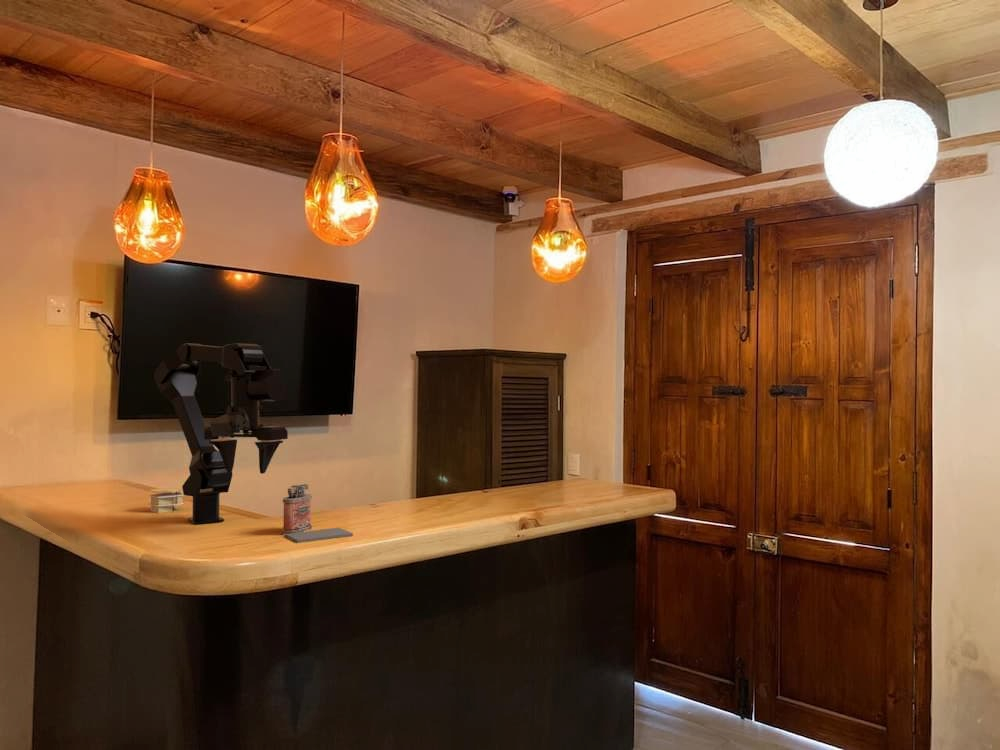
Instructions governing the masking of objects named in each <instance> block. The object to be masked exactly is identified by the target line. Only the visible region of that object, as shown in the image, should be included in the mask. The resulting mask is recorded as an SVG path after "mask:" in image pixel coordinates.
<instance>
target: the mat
mask: <svg viewBox="0 0 1000 750" xmlns="http://www.w3.org/2000/svg"><path fill="white" fill-rule="evenodd" d="M285 536H286V537H285ZM351 536H352V537H353V536H354V533H353V532H351V531H349V530H346V529H344V528H341V527H332V528H325V529H317V530H316V529H315V530H308V531H306V532H298V533H290V534H285V535H284V537H285V538H287V537H288V538H287V539H289V538H290V539H289V540H291V539H292V540H291V541H293V542H295V543H306V542H314V541H321V540H328V539H337V538H339V539H340V538H346V537H351Z"/></svg>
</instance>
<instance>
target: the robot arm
mask: <svg viewBox="0 0 1000 750" xmlns="http://www.w3.org/2000/svg"><path fill="white" fill-rule="evenodd" d="M186 361H187V362H189V361H191V362H190V364H187V363H185V362H186ZM202 362H206V363H215V364H216V363H217V364H221V365H222V367H224V368H227V369H230V372H229V373H228V374H227V375H226V376H225V377H224V381H231V382H230V384H231V391H230V392H231V397H230V398H231V399H230V400H231V405H227V406H226V408H225V409H226V410H225V411H226V412H225V414H223V415H220V416H218V417H216V418H215V419H212V420H211V421H209V426H206V423H205V420H204V417H203V415H202V413H201V409H200V407H199V404H198V401H197V399H196V397H195V392H196V388H197V385H198V383H197V377H198V376H199V375H200V373H201V371H202V368H201V367H202V365H201V363H202ZM154 371H155V372H154V374H153V378H154V381H155V384H156V386H157V388H158V390H159V391H160V393H161V394H162V395H163V396H164V397H165V398H166V399H168V400H169V401H170V402H171V403H172V405H173V408H174V411H175V413H176V417H177V419H178V422H179V424H180V427H181V430H182V432H183V435H184V438H185V440H186V442H187V443H186V444H187V446H188V448H189V451H190V453H191V454H190V455H191V459H190V463H189V467H188V470H189V475H188V477H187V479H186V480H185V482H184V483H183V484H182V486H181V488H182V493H184V495H183V496H187V497H192V514H191V515H192V516H191V517H189V516H188V517H187V520H188V522H191V523H192V524H193V525H194V524H195V525H199V524H201V525H202V524H210V523H218V522H219V523H220V522H224V521H225V518H223V517H221V516H220V496H221V495H220V494H222V493H225V494H226V493H229V489H230V486H231V482H232V478H233V469H234V465H235V458H236V451H237V444H238V439H234V438H256V439H257V441H254V444H255V446H256V447H257V450H258V463H259V464H258V465H259V466H258V467H259V473H260V474H261V475H263V474H265V473H266V471H267V470H268V468H269V465H270V463H271V461H272V459H273V457H274V454H275V453H276V451H277V449H278V447H279V446H280V444H283V442H284V440H287V439H288V437H289V436H288V435H289V434H288V429H287V428H286V427H285V426H283V425H281V426H280V425H278V426H277V425H270V426H264V423H260V411H263V410H264V405H263V404H261V405H260V402H279V401H282V400H283V399H284V398H285V397H286V395H287V393H288V388H289V386H288V384H287V381H286V379H285V377H284V376H283V375H281V373H280V372H281V371H280V369H279V368H272V366H271V365H270V363H269V361H268V359H267V357H266V355H265V352H263V350H262V346H261V345H259V344H256V343H254V344H253V343H227V344H224V345H223V346H217V345H216V346H215V345H205V344H200V343H188V342H187V343H183V344H180V345H179V347H177V349H176V350H175V351H174V352H173V353H171V354H169V355H168V356H166V357H165V358H163V359H162V361H161V362H160V363H159V365H158V367H157V368H156V369H155V370H154ZM241 431H242V432H241ZM215 447H216V448H215Z"/></svg>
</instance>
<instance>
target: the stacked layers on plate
mask: <svg viewBox="0 0 1000 750" xmlns="http://www.w3.org/2000/svg"><path fill="white" fill-rule="evenodd" d="M179 490H182V491H183V489H182V487H173V486H172V487H171V486H170V487H160V488H153V489H150V491H152V492H158V493H156V494H151V495H148V497H149V498H150V503H148V506H150V512H153V513H157V514H161V513H167V512H173V510H174V509H175V506H179V505H183V504H184V503H185V502H184V501H183V496H185V495H184V493H183V492H181V491H179ZM170 491H171V492H170ZM172 491H175V492H172ZM159 492H161V493H159ZM162 492H163V493H162Z"/></svg>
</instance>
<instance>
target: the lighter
mask: <svg viewBox="0 0 1000 750" xmlns="http://www.w3.org/2000/svg"><path fill="white" fill-rule="evenodd" d="M306 490H307V491H308V490H309V484H308V483H301V484H292V485H291V487H287V495H288V496H287V497H284V498H282V503H283V529H282V535H283V534H290V533H298V532H304V531H307V530H308V531H311V530H312V524H311V518H312V517H311V513H312V511H311V509H312V507H311V506H312V505H311V503H312V497H313V495H312V494H311V493H305V492H306ZM310 529H311V530H310Z"/></svg>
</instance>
